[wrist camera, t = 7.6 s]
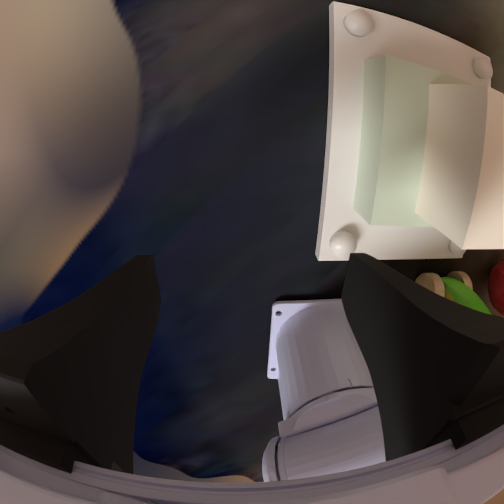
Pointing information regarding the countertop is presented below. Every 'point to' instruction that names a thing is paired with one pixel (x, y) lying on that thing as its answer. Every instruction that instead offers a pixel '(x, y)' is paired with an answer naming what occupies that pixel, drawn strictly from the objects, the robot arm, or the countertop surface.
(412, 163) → the white studded slab
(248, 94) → the countertop surface
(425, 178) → the cream brick
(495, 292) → the onion
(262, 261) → the countertop surface
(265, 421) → the countertop surface
